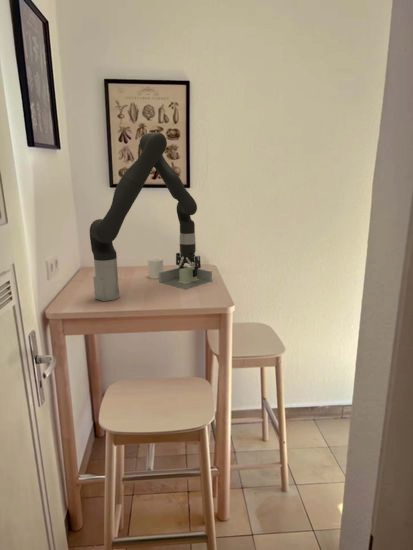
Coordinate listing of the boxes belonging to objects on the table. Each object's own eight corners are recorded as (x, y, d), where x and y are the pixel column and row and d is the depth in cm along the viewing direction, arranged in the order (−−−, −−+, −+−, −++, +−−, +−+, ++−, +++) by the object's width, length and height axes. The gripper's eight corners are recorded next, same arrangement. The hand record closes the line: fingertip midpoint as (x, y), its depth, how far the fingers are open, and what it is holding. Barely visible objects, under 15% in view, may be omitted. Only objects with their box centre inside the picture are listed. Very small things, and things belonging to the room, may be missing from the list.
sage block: (197, 279, 185) (196, 267, 184) (185, 282, 180) (185, 270, 178) (191, 278, 188) (190, 266, 186) (179, 281, 182) (179, 269, 181)
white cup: (145, 279, 189) (144, 260, 187) (152, 275, 196) (151, 257, 194) (159, 281, 187) (159, 261, 184) (166, 277, 194) (165, 258, 191)
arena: (186, 291, 170) (185, 278, 168) (159, 284, 181) (158, 272, 180) (212, 282, 183) (212, 271, 181) (185, 276, 194) (185, 265, 193)
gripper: (204, 242, 177) (204, 276, 181) (182, 239, 186) (183, 271, 191) (193, 245, 172) (193, 279, 176) (171, 241, 181) (172, 274, 185)
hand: (188, 275), depth 183 cm, fingers open, 8 cm apart
